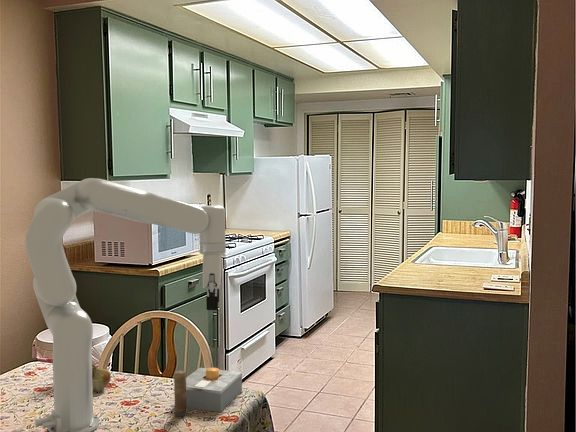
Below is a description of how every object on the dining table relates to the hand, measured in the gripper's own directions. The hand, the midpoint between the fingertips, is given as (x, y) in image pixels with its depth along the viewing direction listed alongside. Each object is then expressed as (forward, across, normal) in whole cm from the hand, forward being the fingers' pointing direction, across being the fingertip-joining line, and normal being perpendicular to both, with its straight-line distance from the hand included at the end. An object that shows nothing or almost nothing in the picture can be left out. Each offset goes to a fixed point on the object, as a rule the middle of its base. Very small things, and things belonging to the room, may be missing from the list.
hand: (213, 305), depth 172 cm
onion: (+28, -9, -36) cm, 46 cm away
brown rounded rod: (+28, +12, -8) cm, 31 cm away
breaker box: (+27, +1, -1) cm, 27 cm away
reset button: (+23, -1, 0) cm, 23 cm away
